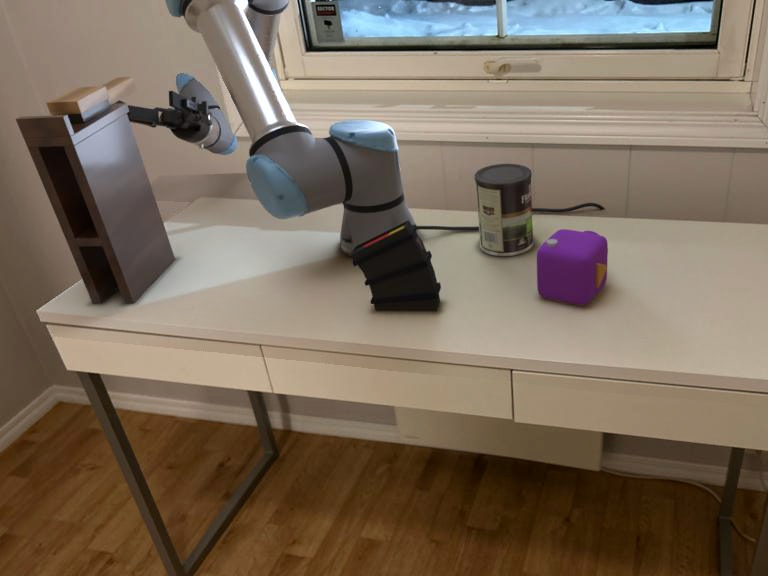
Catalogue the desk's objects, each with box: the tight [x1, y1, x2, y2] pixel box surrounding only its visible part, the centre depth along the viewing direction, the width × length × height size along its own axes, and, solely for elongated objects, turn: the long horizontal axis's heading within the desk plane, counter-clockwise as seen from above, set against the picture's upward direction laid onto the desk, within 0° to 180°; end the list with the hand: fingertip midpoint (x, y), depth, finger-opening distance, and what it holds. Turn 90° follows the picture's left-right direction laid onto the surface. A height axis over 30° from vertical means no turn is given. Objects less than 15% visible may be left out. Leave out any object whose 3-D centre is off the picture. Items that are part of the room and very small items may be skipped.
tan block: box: [45, 76, 138, 124], centre depth 130 cm, size 5×20×4 cm, turn 174°
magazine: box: [349, 220, 442, 312], centre depth 123 cm, size 4×13×15 cm, turn 83°
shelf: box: [15, 102, 176, 304], centre depth 132 cm, size 8×18×33 cm, turn 174°
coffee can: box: [473, 163, 535, 257], centre depth 139 cm, size 10×10×14 cm
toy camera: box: [536, 228, 609, 306], centre depth 124 cm, size 11×14×10 cm
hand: (136, 99), depth 141 cm, fingers open, 13 cm apart
